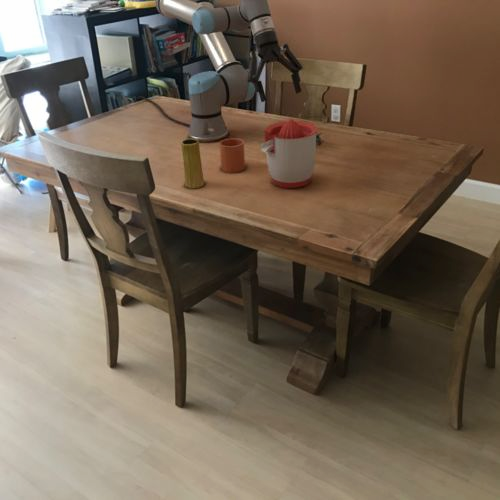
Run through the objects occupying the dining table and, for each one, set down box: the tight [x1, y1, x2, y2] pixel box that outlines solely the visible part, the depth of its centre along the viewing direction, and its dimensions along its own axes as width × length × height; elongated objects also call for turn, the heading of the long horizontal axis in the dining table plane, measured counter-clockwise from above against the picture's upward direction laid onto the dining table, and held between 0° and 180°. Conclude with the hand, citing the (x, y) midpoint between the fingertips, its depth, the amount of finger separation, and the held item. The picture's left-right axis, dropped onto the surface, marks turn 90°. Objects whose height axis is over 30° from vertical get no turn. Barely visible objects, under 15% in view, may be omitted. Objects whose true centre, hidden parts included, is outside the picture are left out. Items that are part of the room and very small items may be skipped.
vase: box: [180, 138, 205, 189], centre depth 160 cm, size 6×6×14 cm
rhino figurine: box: [316, 131, 325, 146], centre depth 188 cm, size 4×14×6 cm, turn 37°
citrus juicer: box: [260, 118, 318, 189], centre depth 157 cm, size 16×17×20 cm
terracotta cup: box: [219, 137, 246, 174], centre depth 171 cm, size 8×8×9 cm
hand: (281, 96), depth 175 cm, fingers open, 13 cm apart
